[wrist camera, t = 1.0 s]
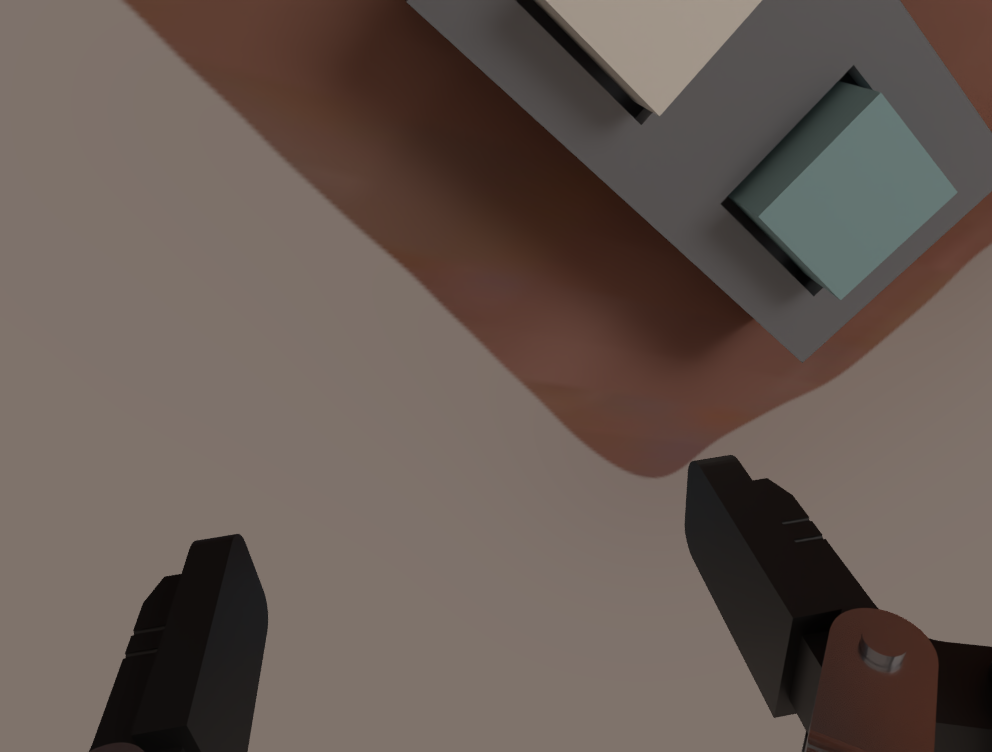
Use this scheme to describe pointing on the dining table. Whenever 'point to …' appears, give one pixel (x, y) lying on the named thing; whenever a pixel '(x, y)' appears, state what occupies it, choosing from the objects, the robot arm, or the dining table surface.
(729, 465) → the robot arm
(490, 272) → the dining table surface
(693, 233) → the key box
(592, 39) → the cream key
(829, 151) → the teal key
